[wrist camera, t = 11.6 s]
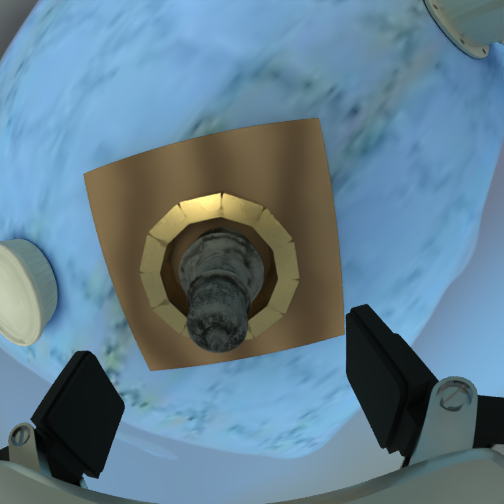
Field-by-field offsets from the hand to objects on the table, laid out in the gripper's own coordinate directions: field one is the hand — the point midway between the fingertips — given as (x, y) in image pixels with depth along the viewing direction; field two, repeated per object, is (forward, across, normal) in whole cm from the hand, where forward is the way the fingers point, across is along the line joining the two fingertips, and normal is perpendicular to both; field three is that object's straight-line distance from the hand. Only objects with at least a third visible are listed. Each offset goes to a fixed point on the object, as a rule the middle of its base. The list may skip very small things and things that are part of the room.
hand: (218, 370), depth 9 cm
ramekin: (+15, +23, -1) cm, 27 cm away
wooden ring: (+15, +1, +1) cm, 15 cm away
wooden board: (+15, +1, +1) cm, 15 cm away
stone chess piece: (+14, 0, 0) cm, 14 cm away
